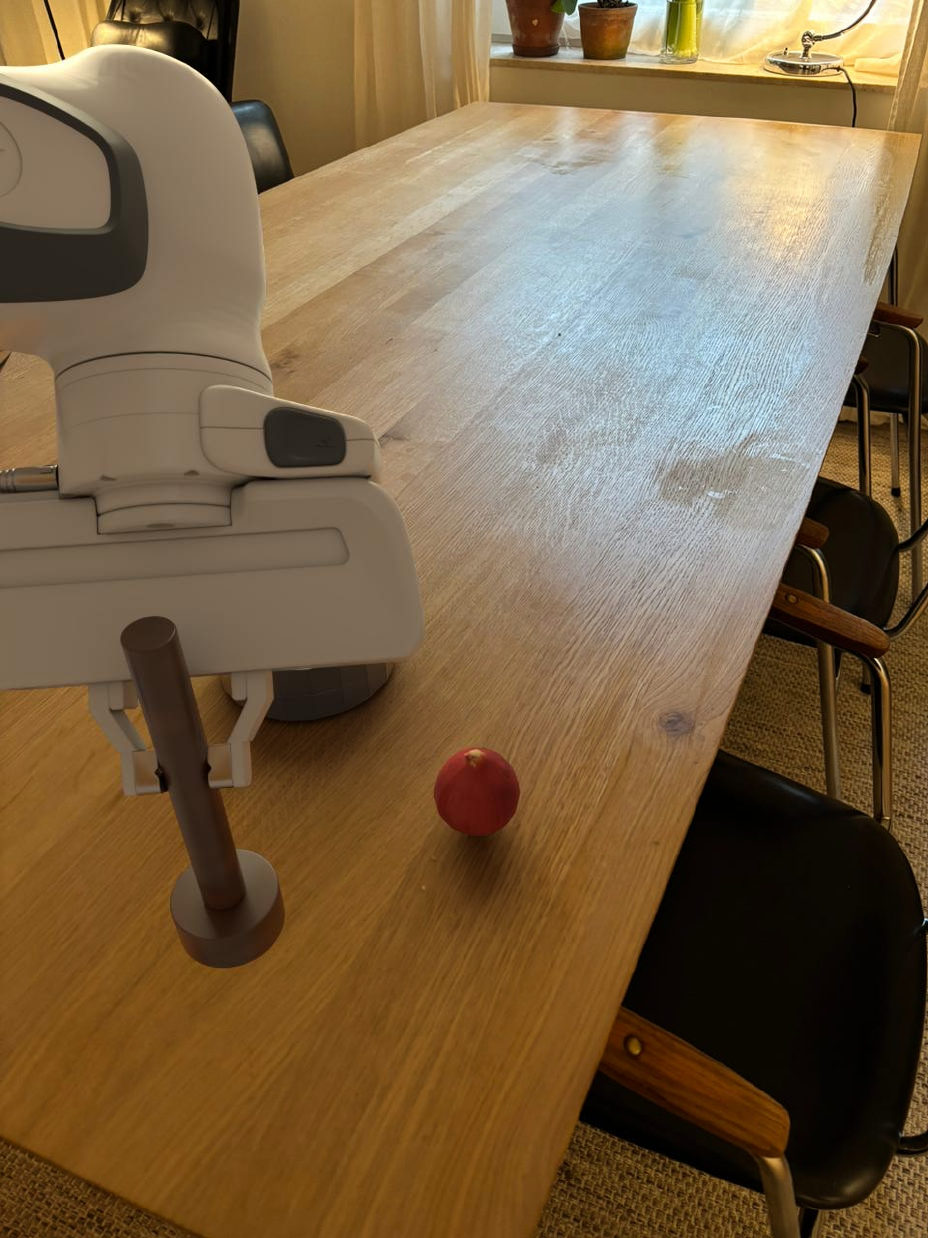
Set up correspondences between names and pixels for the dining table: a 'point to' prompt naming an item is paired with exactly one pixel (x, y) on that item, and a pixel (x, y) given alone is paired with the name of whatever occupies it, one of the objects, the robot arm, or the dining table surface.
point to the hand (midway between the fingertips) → (189, 791)
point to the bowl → (320, 690)
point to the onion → (476, 792)
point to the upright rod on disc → (200, 813)
